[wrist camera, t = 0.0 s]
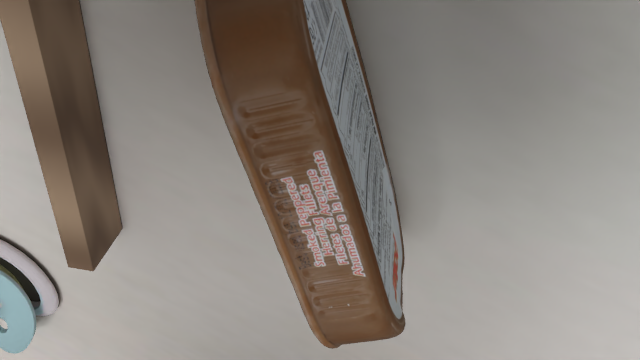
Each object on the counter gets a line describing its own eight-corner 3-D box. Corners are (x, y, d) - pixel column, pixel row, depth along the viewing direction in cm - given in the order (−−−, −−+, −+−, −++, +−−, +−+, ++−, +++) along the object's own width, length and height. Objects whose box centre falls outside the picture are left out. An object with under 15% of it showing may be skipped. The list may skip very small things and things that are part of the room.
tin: (239, -107, 19) (130, -33, 13) (330, -135, 18) (265, -72, 12) (352, 240, 27) (322, 400, 20) (420, 233, 26) (413, 397, 20)
